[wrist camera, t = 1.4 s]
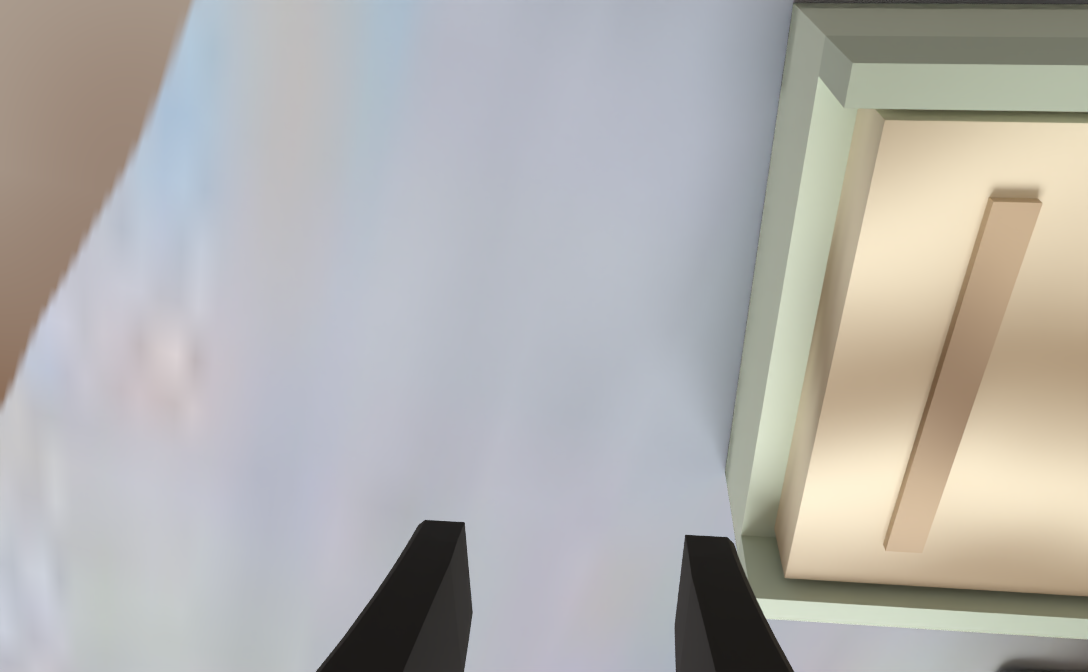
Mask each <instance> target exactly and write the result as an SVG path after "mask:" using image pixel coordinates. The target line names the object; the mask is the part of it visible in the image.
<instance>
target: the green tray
mask: <svg viewBox="0 0 1088 672" xmlns="http://www.w3.org/2000/svg"><path fill="white" fill-rule="evenodd" d="M858 109H923V110H993V111H1062V112H1088V4H916V3H793V9H792V16H791V23H790V29H789V36H788V43H787V50H786V57H785V64H784V71H783V77H782V84H781V91H780V98H779V105H778V112H777V119H776V125H775V132H774V139H773V146H772V153H771V160H770V167H769V174H768V180H767V187H766V194H765V201H764V208H763V215H762V222H761V228H760V235H759V242H758V249H757V256H756V263H755V270H754V277H753V283H752V290H751V297H750V304H749V311H748V318H747V325H746V331H745V338H744V345H743V352H742V359H741V366H740V373H739V380H738V386H737V393H736V400H735V407H734V414H733V421H732V428H731V434H730V441H729V448H728V455H727V462H726V469H725V475H726V482H727V488H728V495H729V501H730V508H731V514H732V521H733V527H734V534H735V540H736V547H737V553H738V557H739V559H740V562H741V564H742V567H743V569H744V572H745V574H746V577H747V579H748V581H749V583H750V586H751V588H752V590H753V592H754V595H755V597H756V599H757V601H758V603H759V605H760V607H761V609H762V611H763V614H764V616H765V618H766V619H778V620H793V621H809V622H824V623H840V624H855V625H871V626H886V627H902V628H917V629H933V630H948V631H964V632H979V633H994V634H1010V635H1025V636H1041V637H1056V638H1072V639H1087V640H1088V596H1072V595H1055V594H1039V593H1022V592H1006V591H989V590H972V589H956V588H939V587H923V586H906V585H890V584H873V583H857V582H840V581H824V580H807V579H791V578H785V577H784V572H783V568H782V563H781V558H780V554H779V549H778V544H777V540H776V535H775V530H774V527H775V522H776V517H777V512H778V507H779V502H780V497H781V492H782V487H783V482H784V477H785V472H786V467H787V462H788V457H789V452H790V447H791V442H792V437H793V432H794V427H795V422H796V417H797V412H798V407H799V402H800V397H801V392H802V387H803V382H804V377H805V372H806V367H807V362H808V357H809V351H810V346H811V341H812V336H813V331H814V326H815V321H816V316H817V311H818V306H819V301H820V296H821V291H822V286H823V281H824V276H825V271H826V266H827V261H828V256H829V251H830V246H831V241H832V236H833V231H834V226H835V221H836V216H837V211H838V206H839V201H840V196H841V191H842V186H843V181H844V176H845V171H846V166H847V161H848V156H849V151H850V146H851V141H852V135H853V130H854V125H855V120H856V115H857V110H858Z"/></svg>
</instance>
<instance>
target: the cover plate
mask: <svg viewBox="0 0 1088 672" xmlns="http://www.w3.org/2000/svg"><path fill="white" fill-rule="evenodd" d="M774 530H775V535H776V540H777V544H778V549H779V554H780V558H781V563H782V568H783V572H784V577H785V578H791V579H807V580H824V581H840V582H857V583H873V584H890V585H906V586H923V587H939V588H956V589H972V590H989V591H1006V592H1022V593H1039V594H1055V595H1072V596H1088V112H1062V111H993V110H923V109H858V110H857V115H856V120H855V125H854V130H853V135H852V141H851V146H850V151H849V156H848V161H847V166H846V171H845V176H844V181H843V186H842V191H841V196H840V201H839V206H838V211H837V216H836V221H835V226H834V231H833V236H832V241H831V246H830V251H829V256H828V261H827V266H826V271H825V276H824V281H823V286H822V291H821V296H820V301H819V306H818V311H817V316H816V321H815V326H814V331H813V336H812V341H811V346H810V351H809V357H808V362H807V367H806V372H805V377H804V382H803V387H802V392H801V397H800V402H799V407H798V412H797V417H796V422H795V427H794V432H793V437H792V442H791V447H790V452H789V457H788V462H787V467H786V472H785V477H784V482H783V487H782V492H781V497H780V502H779V507H778V512H777V517H776V522H775V527H774Z"/></svg>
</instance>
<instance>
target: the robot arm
mask: <svg viewBox="0 0 1088 672" xmlns="http://www.w3.org/2000/svg"><path fill="white" fill-rule="evenodd" d="M472 613H473V612H472V601H471V590H470V578H469V567H468V556H467V545H466V533H465V522H450V521H432V520H425V521H423V522H422V523H421V524H419V525H418V527H417V528H416V530H415V532H414V534H413V535H412V537H411V539H410V540H409V542H408V544H407V545H406V547H405V549H404V550H403V552H402V553H401V555H400V557H399V558H398V560H397V561H396V563H395V564H394V566H393V568H392V569H391V571H390V572H389V574H388V575H387V577H386V578H385V580H384V581H383V583H382V584H381V585H380V587H379V588H378V590H377V591H376V593H375V594H374V596H373V597H372V599H371V600H370V601H369V603H368V604H367V605H366V607H365V608H364V610H363V611H362V612H361V614H360V615H359V616H358V618H357V619H356V621H355V622H354V623H353V625H352V626H351V628H350V629H349V630H348V632H347V633H346V634H345V636H344V637H343V638H342V640H341V641H340V642H339V644H338V645H337V646H336V647H335V649H334V650H333V651H332V652H331V654H330V655H329V656H328V657H327V658H326V660H325V661H324V662H323V663H322V665H321V666H320V667H319V668H318V670H317V671H316V672H464V668H465V661H466V654H467V648H468V641H469V634H470V627H471V620H472ZM675 658H676V672H794V671H793V669H792V667H791V665H790V663H789V662H788V660H787V658H786V656H785V654H784V652H783V650H782V649H781V647H780V645H779V643H778V641H777V639H776V638H775V636H774V634H773V632H772V630H771V628H770V626H769V624H768V622H767V620H766V618H765V616H764V614H763V611H762V609H761V607H760V605H759V603H758V601H757V599H756V597H755V595H754V592H753V590H752V588H751V586H750V583H749V581H748V579H747V577H746V574H745V572H744V569H743V567H742V564H741V562H740V559H739V557H738V554H737V551H736V548H735V546H734V543H733V542H732V541H731V540H730V539H729V538H728V537H714V536H696V535H685V542H684V550H683V559H682V567H681V576H680V585H679V593H678V602H677V610H676V619H675Z"/></svg>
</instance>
